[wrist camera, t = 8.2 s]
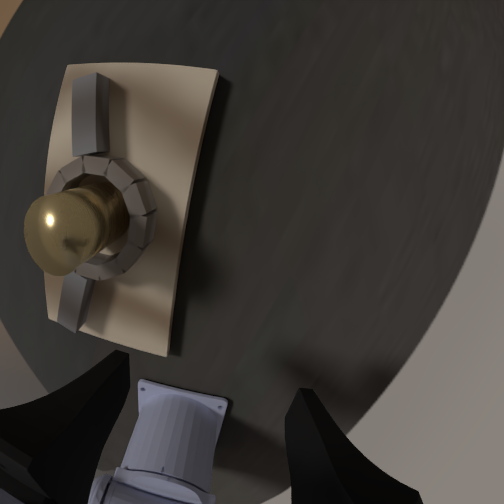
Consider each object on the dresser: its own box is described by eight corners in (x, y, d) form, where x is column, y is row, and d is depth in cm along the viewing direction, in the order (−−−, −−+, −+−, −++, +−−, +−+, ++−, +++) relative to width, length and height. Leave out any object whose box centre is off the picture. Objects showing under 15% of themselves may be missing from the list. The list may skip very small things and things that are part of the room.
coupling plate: (169, 349, 22) (160, 373, 19) (54, 313, 21) (36, 330, 18) (219, 74, 16) (213, 59, 13) (74, 68, 15) (52, 58, 12)
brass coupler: (127, 247, 18) (82, 285, 12) (78, 235, 18) (25, 265, 12) (135, 187, 17) (85, 202, 11) (83, 177, 16) (25, 190, 11)
